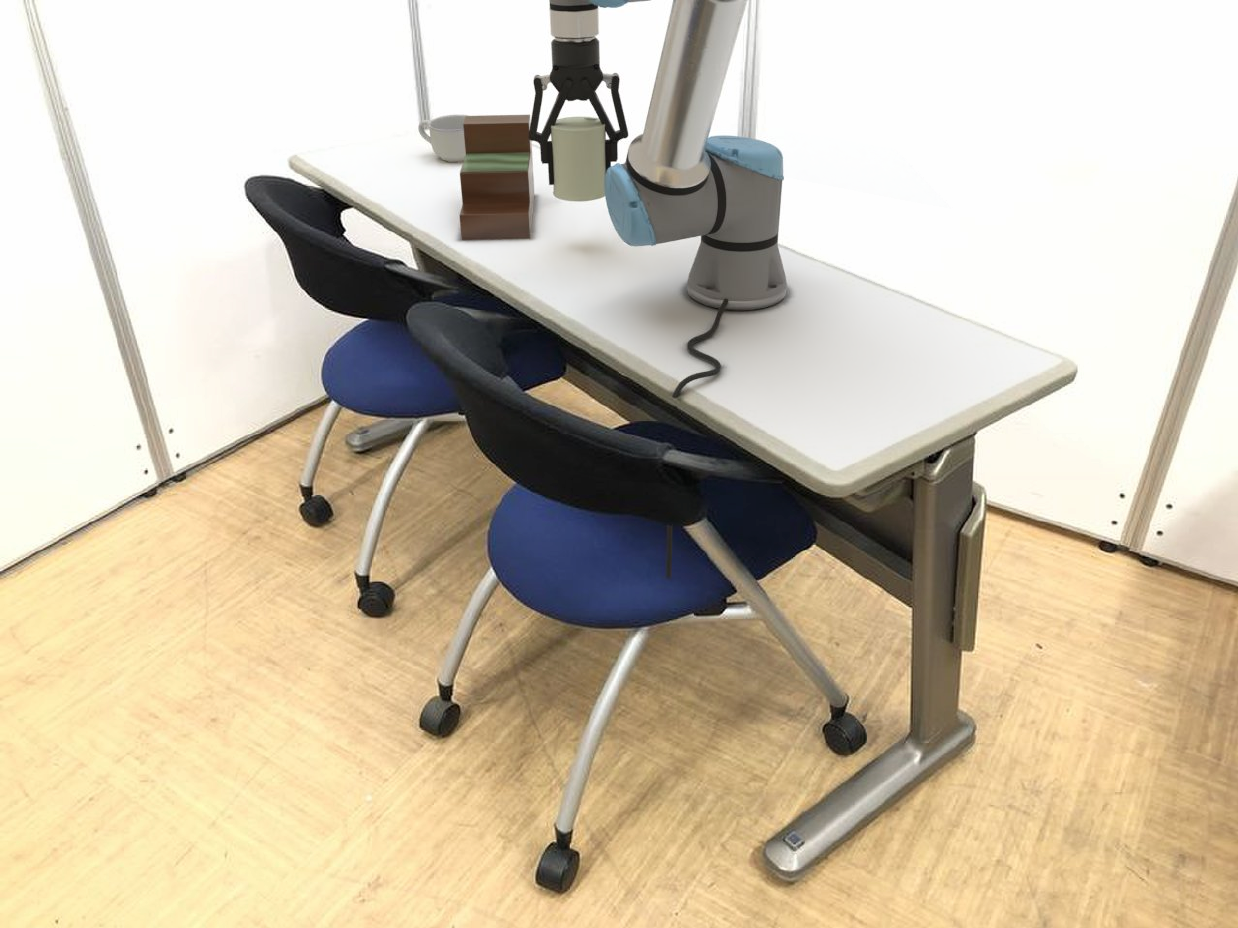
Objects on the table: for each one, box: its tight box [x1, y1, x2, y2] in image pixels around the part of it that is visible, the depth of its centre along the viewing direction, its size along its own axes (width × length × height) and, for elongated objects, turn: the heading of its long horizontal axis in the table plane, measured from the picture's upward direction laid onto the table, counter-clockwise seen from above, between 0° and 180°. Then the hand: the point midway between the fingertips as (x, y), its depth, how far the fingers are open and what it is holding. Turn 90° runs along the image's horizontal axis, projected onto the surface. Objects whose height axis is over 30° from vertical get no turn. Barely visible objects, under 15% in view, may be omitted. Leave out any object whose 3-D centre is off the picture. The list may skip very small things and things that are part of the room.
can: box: [550, 116, 607, 202], centre depth 172 cm, size 9×9×12 cm
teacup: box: [418, 114, 470, 163], centre depth 225 cm, size 14×11×8 cm
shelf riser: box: [459, 114, 535, 241], centre depth 190 cm, size 24×12×16 cm, turn 2°
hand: (580, 181), depth 175 cm, fingers closed on can, 9 cm apart
